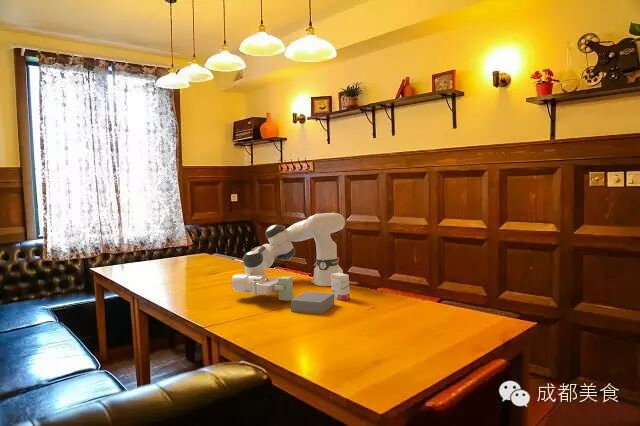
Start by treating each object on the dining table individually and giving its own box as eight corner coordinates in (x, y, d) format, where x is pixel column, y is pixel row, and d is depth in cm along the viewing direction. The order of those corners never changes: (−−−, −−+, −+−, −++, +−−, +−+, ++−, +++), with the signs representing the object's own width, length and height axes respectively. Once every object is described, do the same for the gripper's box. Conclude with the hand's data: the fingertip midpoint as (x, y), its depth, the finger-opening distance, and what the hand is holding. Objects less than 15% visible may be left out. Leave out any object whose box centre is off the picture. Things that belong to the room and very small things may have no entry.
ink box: (350, 299, 210) (349, 274, 209) (341, 301, 207) (341, 276, 207) (339, 296, 217) (339, 272, 217) (331, 297, 215) (330, 273, 214)
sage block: (283, 297, 211) (283, 276, 210) (293, 297, 209) (292, 276, 208) (278, 299, 206) (278, 278, 206) (288, 300, 204) (287, 279, 204)
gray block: (306, 302, 207) (306, 291, 207) (334, 304, 202) (334, 293, 202) (291, 311, 193) (290, 300, 192) (320, 314, 187) (320, 302, 187)
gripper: (272, 286, 222) (297, 287, 217) (250, 295, 203) (277, 297, 198) (271, 273, 222) (296, 275, 216) (250, 282, 203) (276, 283, 198)
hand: (287, 286), depth 207 cm, fingers closed on sage block, 5 cm apart
